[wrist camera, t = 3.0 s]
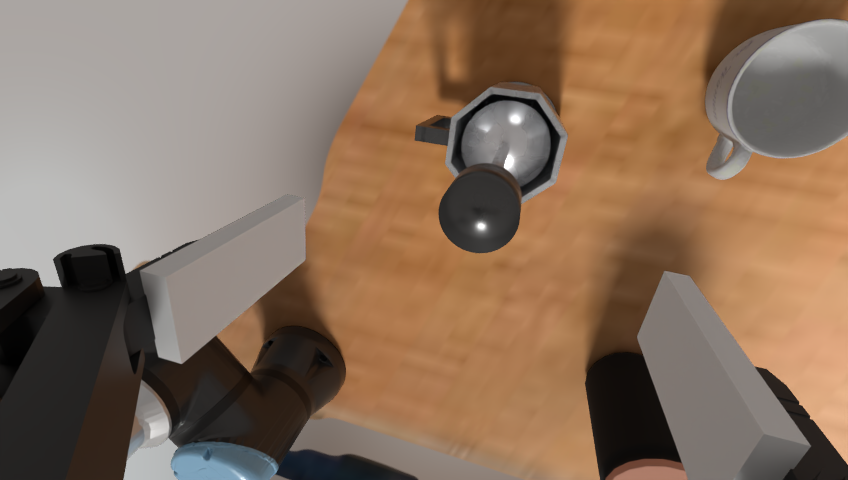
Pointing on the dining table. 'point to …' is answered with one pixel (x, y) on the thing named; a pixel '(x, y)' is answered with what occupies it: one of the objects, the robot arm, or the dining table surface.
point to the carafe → (454, 127)
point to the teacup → (780, 95)
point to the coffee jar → (630, 422)
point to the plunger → (494, 175)
